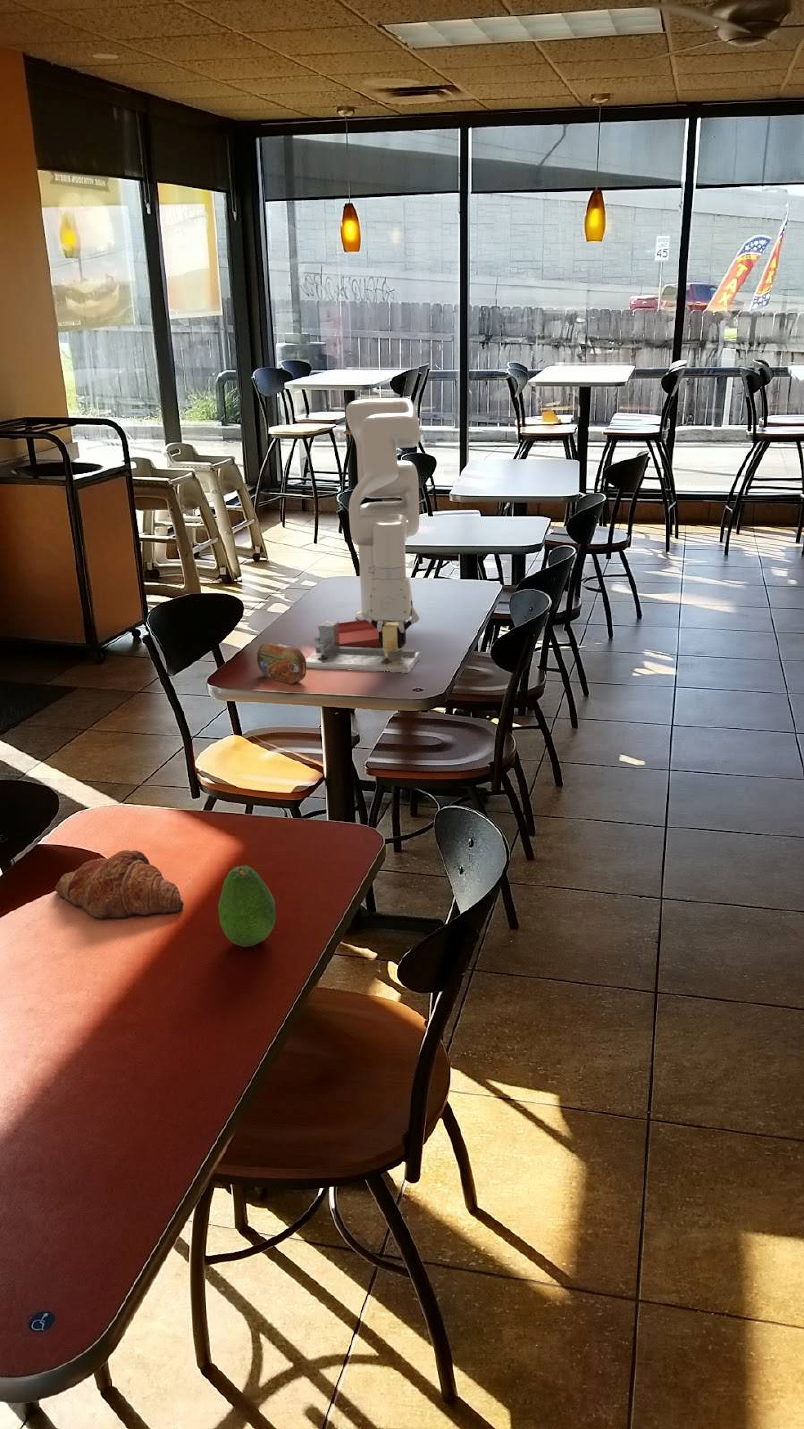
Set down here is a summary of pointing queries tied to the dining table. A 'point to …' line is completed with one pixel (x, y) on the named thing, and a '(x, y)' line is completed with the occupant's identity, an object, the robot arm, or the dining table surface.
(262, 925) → the avocado
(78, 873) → the pastry
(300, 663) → the tin
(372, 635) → the plant saucer
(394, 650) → the tan stemmed block
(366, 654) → the hole plate
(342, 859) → the dining table surface
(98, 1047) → the dining table surface
